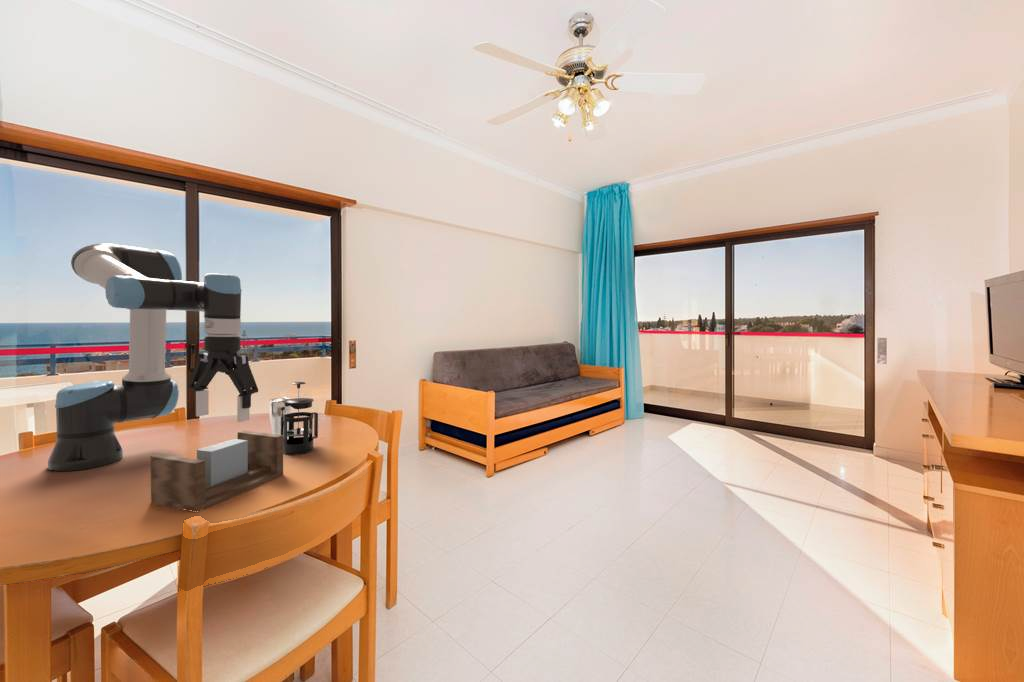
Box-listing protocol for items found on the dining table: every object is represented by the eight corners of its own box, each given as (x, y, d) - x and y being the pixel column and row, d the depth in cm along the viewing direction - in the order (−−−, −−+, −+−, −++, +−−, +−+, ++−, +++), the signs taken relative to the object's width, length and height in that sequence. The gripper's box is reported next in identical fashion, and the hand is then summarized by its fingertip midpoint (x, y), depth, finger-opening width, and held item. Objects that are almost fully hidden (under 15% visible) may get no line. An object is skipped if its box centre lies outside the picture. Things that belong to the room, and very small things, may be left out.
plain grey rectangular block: (197, 489, 99) (196, 449, 99) (234, 475, 109) (234, 438, 109) (211, 491, 98) (210, 451, 98) (247, 477, 108) (247, 440, 108)
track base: (151, 503, 94) (150, 456, 94) (243, 468, 117) (243, 430, 117) (196, 512, 90) (196, 463, 90) (283, 474, 114) (283, 435, 113)
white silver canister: (264, 442, 142) (264, 400, 141) (279, 437, 148) (279, 397, 148) (282, 444, 140) (282, 401, 140) (296, 438, 147) (296, 398, 147)
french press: (290, 457, 127) (290, 385, 126) (274, 451, 132) (274, 382, 131) (324, 448, 137) (324, 381, 136) (308, 443, 142) (308, 378, 141)
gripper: (170, 333, 102) (170, 416, 103) (248, 338, 95) (247, 426, 96) (200, 332, 109) (200, 410, 110) (274, 337, 102) (274, 419, 103)
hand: (222, 418), depth 103 cm, fingers open, 13 cm apart
